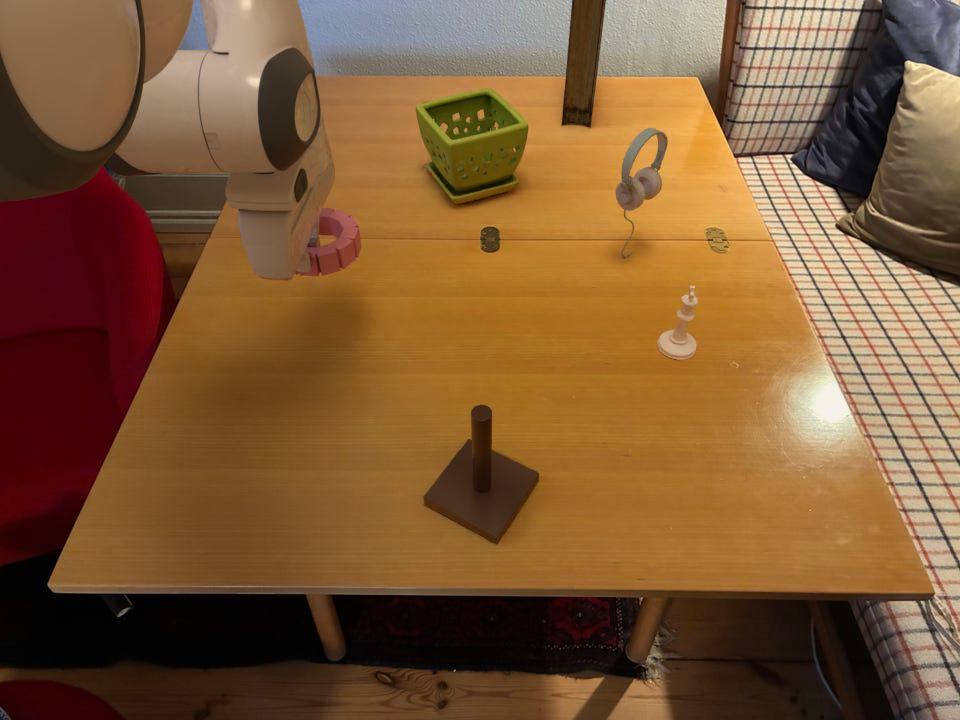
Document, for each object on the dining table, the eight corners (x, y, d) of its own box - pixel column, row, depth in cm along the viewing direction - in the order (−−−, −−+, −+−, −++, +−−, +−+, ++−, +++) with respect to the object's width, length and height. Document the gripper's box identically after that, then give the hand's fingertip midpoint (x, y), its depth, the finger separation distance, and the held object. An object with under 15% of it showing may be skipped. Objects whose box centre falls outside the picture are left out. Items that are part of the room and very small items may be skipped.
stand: (496, 544, 70) (498, 467, 61) (423, 504, 74) (414, 425, 64) (538, 480, 76) (546, 400, 66) (468, 446, 79) (466, 364, 69)
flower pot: (418, 173, 119) (412, 102, 110) (491, 155, 123) (491, 85, 114) (450, 216, 110) (447, 143, 101) (528, 195, 114) (532, 122, 105)
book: (567, 88, 141) (579, -49, 123) (594, 90, 140) (610, -48, 122) (561, 127, 130) (573, -17, 112) (590, 129, 129) (607, -16, 111)
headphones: (619, 275, 100) (642, 149, 85) (597, 263, 102) (616, 137, 87) (654, 250, 104) (681, 125, 89) (632, 239, 106) (656, 115, 91)
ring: (351, 278, 79) (347, 258, 77) (267, 274, 80) (261, 254, 78) (367, 228, 86) (365, 209, 84) (290, 225, 87) (286, 206, 85)
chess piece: (695, 335, 91) (713, 276, 84) (696, 362, 88) (715, 302, 81) (657, 331, 92) (671, 271, 84) (657, 357, 88) (672, 298, 81)
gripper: (281, 100, 77) (305, 207, 87) (217, 203, 62) (254, 317, 72) (337, 102, 76) (354, 210, 86) (286, 206, 62) (313, 320, 72)
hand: (308, 260), depth 79 cm, fingers closed on ring, 2 cm apart
